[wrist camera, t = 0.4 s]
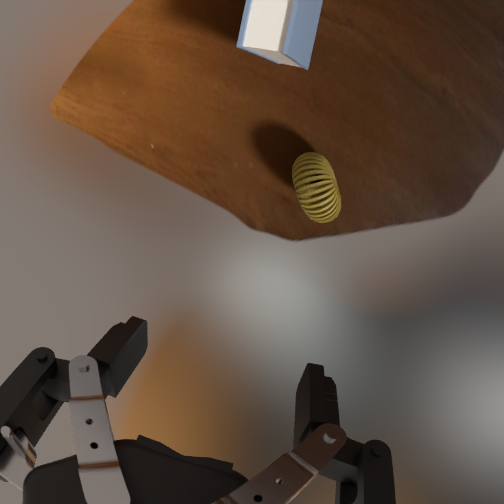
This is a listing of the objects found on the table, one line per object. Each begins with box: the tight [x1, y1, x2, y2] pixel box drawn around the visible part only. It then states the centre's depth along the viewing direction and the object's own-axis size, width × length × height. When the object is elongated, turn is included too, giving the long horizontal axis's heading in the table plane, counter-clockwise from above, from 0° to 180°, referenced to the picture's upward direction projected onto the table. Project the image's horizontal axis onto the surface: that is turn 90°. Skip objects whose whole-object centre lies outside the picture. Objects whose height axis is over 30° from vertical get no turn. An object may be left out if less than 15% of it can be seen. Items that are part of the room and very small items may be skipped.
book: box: [237, 0, 323, 70], centre depth 19 cm, size 4×12×15 cm, turn 170°
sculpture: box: [292, 152, 341, 223], centre depth 31 cm, size 8×4×8 cm, turn 25°
